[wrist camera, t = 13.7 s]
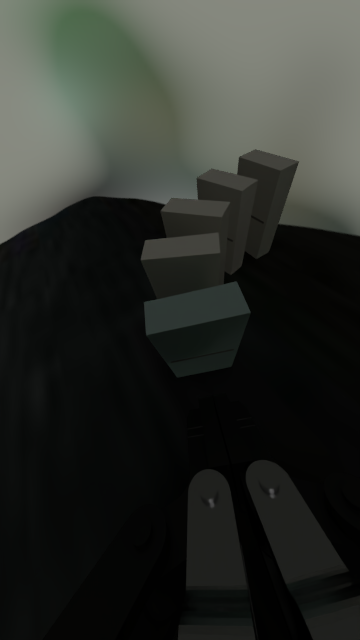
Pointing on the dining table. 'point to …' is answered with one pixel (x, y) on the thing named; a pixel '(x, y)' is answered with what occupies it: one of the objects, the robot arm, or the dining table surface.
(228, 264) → the domino
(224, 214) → the domino
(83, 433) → the dining table surface
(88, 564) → the dining table surface
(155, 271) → the domino
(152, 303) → the domino
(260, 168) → the domino
